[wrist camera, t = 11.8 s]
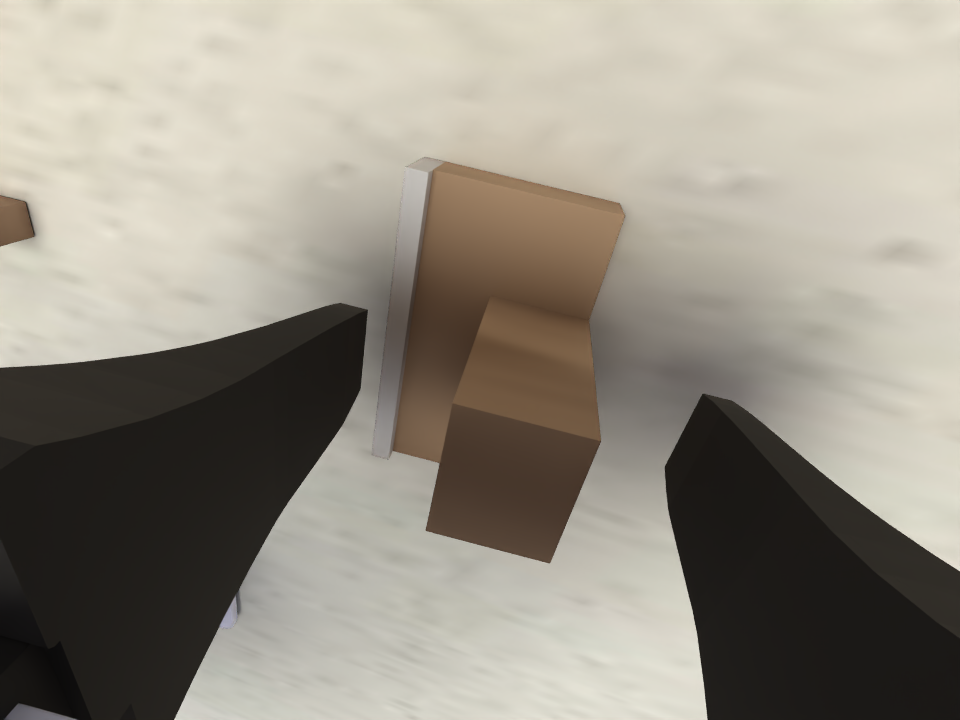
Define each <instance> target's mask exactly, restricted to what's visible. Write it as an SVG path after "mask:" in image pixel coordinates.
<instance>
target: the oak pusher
mask: <svg viewBox="0 0 960 720" xmlns="http://www.w3.org/2000/svg"><path fill="white" fill-rule="evenodd" d="M624 218H625V214H624V212H623V210H622V208H621V206H620V203H616V202H612V201H607V200H603V199H599V198H595V197H591V196H586V195H582V194H578V193H574V192H570V191H566V190H561V189H557V188H553V187H549V186H545V185H541V184H536V183H532V182H528V181H524V180H520V179H515V178H511V177H507V176H503V175H499V174H495V173H490V172H486V171H482V170H478V169H474V168H470V167H465V166H461V165H457V164H453V163H449V162H444V161H440V160H436V159H432V158H428V157H424V158H422V159H420V160H418V161H416V162H414V163H412V164H410V165H408V166H406V167H405V173H404V182H403V190H402V199H401V208H400V216H399V225H398V233H397V242H396V251H395V259H394V268H393V277H392V285H391V294H390V302H389V311H388V320H387V328H386V337H385V345H384V354H383V363H382V371H381V380H380V388H379V397H378V406H377V414H376V423H375V432H374V440H373V449H372V455H373V456H376V457H380V458H384V459H388V460H389V457H390V455H391V453H392V451H396V452H399V453H403V454H407V455H411V456H415V457H419V458H423V459H426V460H430V461H434V462H438V463H440V465H439V470H438V474H437V479H436V484H435V489H434V493H433V498H432V503H431V508H430V512H429V517H428V522H427V527H426V531H428V532H432V533H436V534H440V535H444V536H447V537H451V538H455V539H459V540H463V541H466V542H470V543H474V544H478V545H481V546H485V547H489V548H493V549H497V550H500V551H504V552H508V553H512V554H516V555H519V556H523V557H527V558H531V559H535V560H538V561H542V562H546V563H550V562H551V560H552V557H553V555H554V552H555V550H556V548H557V545H558V543H559V540H560V538H561V536H562V533H563V531H564V529H565V526H566V524H567V521H568V519H569V517H570V514H571V512H572V509H573V507H574V505H575V502H576V500H577V497H578V495H579V493H580V490H581V488H582V485H583V483H584V481H585V478H586V476H587V474H588V471H589V469H590V466H591V464H592V462H593V459H594V457H595V454H596V452H597V450H598V447H599V445H600V442H601V436H600V426H599V416H598V406H597V396H596V386H595V376H594V366H593V356H592V346H591V336H590V326H589V319H590V316H591V313H592V310H593V307H594V304H595V301H596V299H597V296H598V293H599V290H600V287H601V284H602V281H603V278H604V275H605V273H606V270H607V267H608V264H609V261H610V258H611V255H612V252H613V249H614V247H615V244H616V241H617V238H618V235H619V232H620V229H621V226H622V224H623V221H624Z"/></svg>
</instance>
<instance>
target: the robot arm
mask: <svg viewBox="0 0 960 720" xmlns="http://www.w3.org/2000/svg"><path fill="white" fill-rule="evenodd" d="M367 313H368V310H366V309H362V308H358V307H354V306H350V305H346V304H342V303H338V304H333V305H329V306H325V307H322V308H319V309H316V310H312V311H309V312H306V313H303V314H300V315H297V316H294V317H291V318H288V319H285V320H282V321H279V322H276V323H273V324H270V325H267V326H263V327H260V328H256V329H253V330H249V331H246V332H242V333H238V334H235V335H231V336H228V337H224V338H221V339H217V340H213V341H209V342H205V343H200V344H196V345H191V346H187V347H181V348H176V349H171V350H166V351H160V352H155V353H149V354H142V355H134V356H126V357H118V358H111V359H103V360H95V361H87V362H78V363H67V364H54V365H41V366H25V367H6V368H0V720H174V719H175V717H176V714H177V712H178V710H179V708H180V706H181V704H182V702H183V700H184V698H185V695H186V693H187V691H188V689H189V687H190V685H191V683H192V681H193V679H194V676H195V674H196V672H197V670H198V668H199V666H200V664H201V662H202V660H203V658H204V656H205V654H206V652H207V650H208V648H209V646H210V644H211V642H212V640H213V638H214V636H215V634H216V632H217V630H218V628H219V627H221V628H226V629H227V628H231V627H233V626H234V624H235V622H236V621H237V618H238V616H237V604H236V594H237V592H238V590H239V588H240V586H241V584H242V582H243V580H244V578H245V577H246V575H247V573H248V571H249V569H250V567H251V565H252V563H253V562H254V560H255V558H256V556H257V554H258V553H259V551H260V549H261V547H262V545H263V544H264V542H265V540H266V538H267V536H268V535H269V533H270V531H271V529H272V527H273V526H274V524H275V522H276V520H277V519H278V517H279V516H280V514H281V513H282V511H283V510H284V508H285V506H286V505H287V503H288V502H289V500H290V499H291V498H292V496H293V495H294V493H295V492H296V491H297V489H298V488H299V486H300V485H301V483H302V482H303V481H304V479H305V478H306V476H307V475H308V474H309V472H310V471H311V469H312V468H313V467H314V465H315V464H316V462H317V461H318V459H319V458H320V457H321V455H322V454H323V452H324V451H325V450H326V448H327V447H328V445H329V444H330V442H331V441H332V439H333V438H334V437H335V435H336V434H337V432H338V431H339V429H340V428H341V426H342V425H343V423H344V421H345V419H346V417H347V415H348V413H349V411H350V409H351V407H352V405H353V403H354V401H355V399H356V397H357V395H358V393H359V391H360V388H361V378H362V367H363V356H364V345H365V334H366V324H367ZM665 479H666V493H667V502H668V510H669V515H670V519H671V524H672V528H673V532H674V537H675V541H676V545H677V549H678V553H679V557H680V561H681V565H682V569H683V573H684V578H685V582H686V586H687V590H688V594H689V598H690V602H691V606H692V610H693V615H694V620H695V625H696V630H697V636H698V643H699V651H700V658H701V666H702V674H703V681H704V689H705V699H706V708H707V718H708V720H960V571H958V570H957V569H955V568H954V567H952V566H950V565H949V564H947V563H946V562H944V561H943V560H941V559H939V558H938V557H936V556H935V555H933V554H932V553H930V552H929V551H927V550H926V549H924V548H923V547H922V546H920V545H919V544H917V543H916V542H914V541H913V540H911V539H910V538H908V537H907V536H905V535H904V534H902V533H901V532H900V531H898V530H897V529H895V528H894V527H892V526H891V525H889V524H888V523H887V522H885V521H884V520H882V519H881V518H880V517H878V516H877V515H875V514H874V513H873V512H871V511H870V510H869V509H867V508H866V507H865V506H863V505H862V504H861V503H860V502H858V501H857V500H856V499H854V498H853V497H852V496H850V495H849V494H848V493H847V492H845V491H844V490H843V489H841V488H840V487H839V486H838V485H836V484H835V483H834V482H833V481H831V480H830V479H829V478H828V477H826V476H825V475H824V474H823V473H821V472H820V471H819V470H818V469H816V468H815V467H814V466H813V465H812V464H810V463H809V462H808V461H807V460H806V459H804V458H803V457H802V456H801V455H800V454H798V453H797V452H796V451H795V450H794V449H793V448H791V447H790V446H789V445H788V444H787V443H785V442H784V441H783V440H782V439H781V438H779V437H778V436H777V435H776V434H775V433H774V432H772V431H771V430H770V429H769V428H768V427H766V426H765V425H764V424H763V423H762V422H760V421H759V420H758V419H757V418H755V417H754V416H753V415H752V414H750V413H749V412H748V411H746V410H745V409H743V408H742V407H741V406H739V405H738V404H736V403H735V402H733V401H730V400H726V399H722V398H718V397H714V396H710V395H706V394H702V396H701V398H700V400H699V402H698V404H697V406H696V408H695V409H694V411H693V413H692V415H691V417H690V419H689V421H688V423H687V425H686V427H685V429H684V431H683V433H682V435H681V436H680V438H679V440H678V442H677V444H676V446H675V448H674V450H673V452H672V454H671V456H670V458H669V460H668V462H667V463H666V465H665Z"/></svg>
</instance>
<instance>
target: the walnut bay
mask: <svg viewBox="0 0 960 720" xmlns="http://www.w3.org/2000/svg"><path fill="white" fill-rule="evenodd" d="M31 237H34V234H33V230H32V226H31V222H30V218H29V215H28V211H27V207H26V203H25V202H23V201H19V200H15V199H11V198H7V197H3V196H0V246H3V245H7V244H10V243H14V242H17V241H21V240H24V239H28V238H31Z"/></svg>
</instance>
